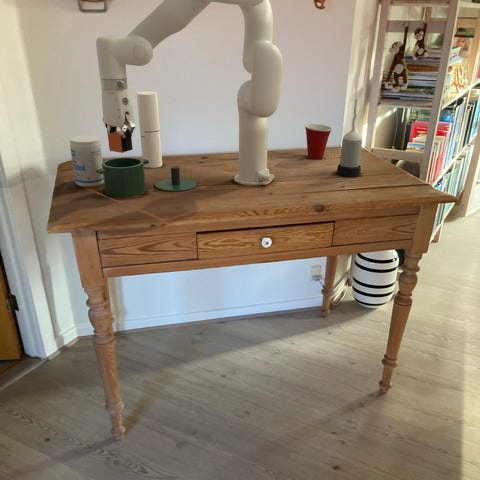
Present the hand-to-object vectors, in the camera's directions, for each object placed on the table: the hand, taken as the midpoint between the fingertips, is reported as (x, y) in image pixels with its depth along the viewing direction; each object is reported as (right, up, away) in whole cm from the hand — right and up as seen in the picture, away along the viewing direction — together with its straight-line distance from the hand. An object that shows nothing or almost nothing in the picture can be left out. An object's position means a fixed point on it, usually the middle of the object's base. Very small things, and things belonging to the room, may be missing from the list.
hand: (121, 148), depth 160 cm
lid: (+15, -8, +12) cm, 21 cm away
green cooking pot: (0, -12, +7) cm, 14 cm away
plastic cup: (+67, +11, +46) cm, 82 cm away
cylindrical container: (+4, +5, +35) cm, 36 cm away
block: (0, -1, 0) cm, 1 cm away
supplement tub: (-14, -7, +15) cm, 21 cm away
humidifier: (+75, -1, +27) cm, 80 cm away
